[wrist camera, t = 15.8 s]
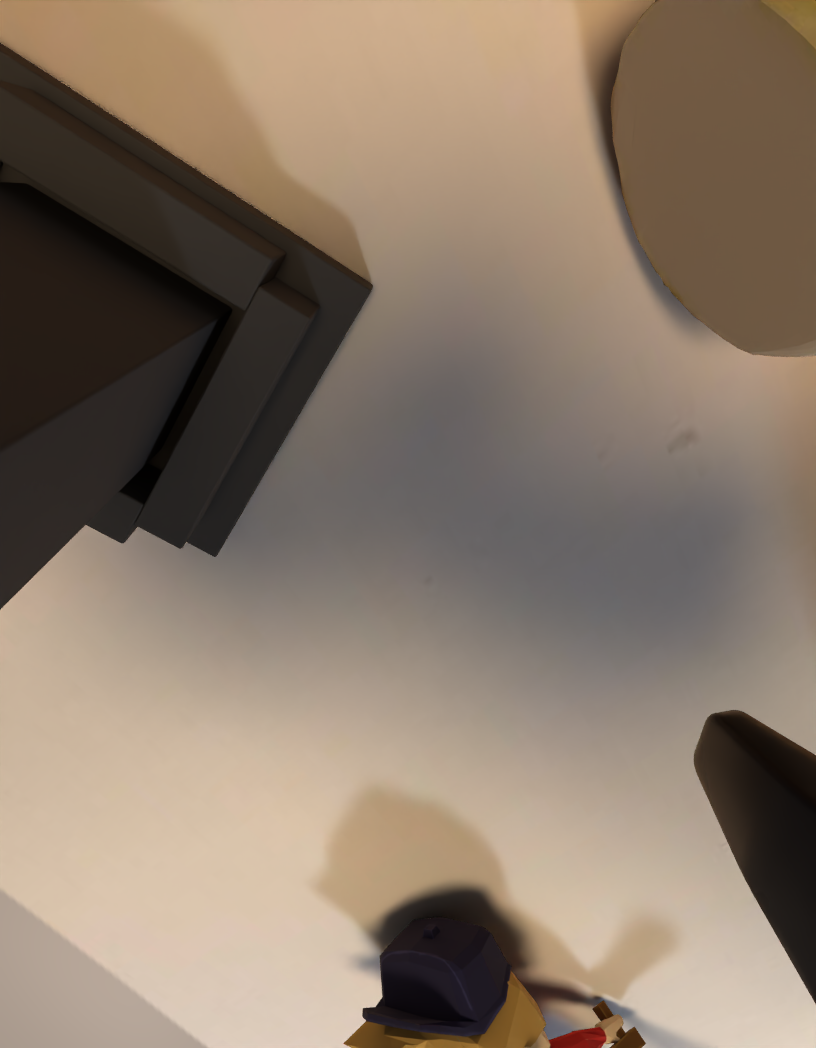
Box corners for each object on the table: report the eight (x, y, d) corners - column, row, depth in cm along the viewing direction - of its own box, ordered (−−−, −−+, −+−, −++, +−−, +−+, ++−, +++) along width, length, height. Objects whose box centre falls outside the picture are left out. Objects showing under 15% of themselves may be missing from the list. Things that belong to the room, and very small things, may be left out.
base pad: (373, 285, 18) (367, 301, 15) (225, 539, 21) (195, 595, 18) (-27, 25, 16) (-126, -15, 13) (-133, 345, 19) (-235, 372, 16)
